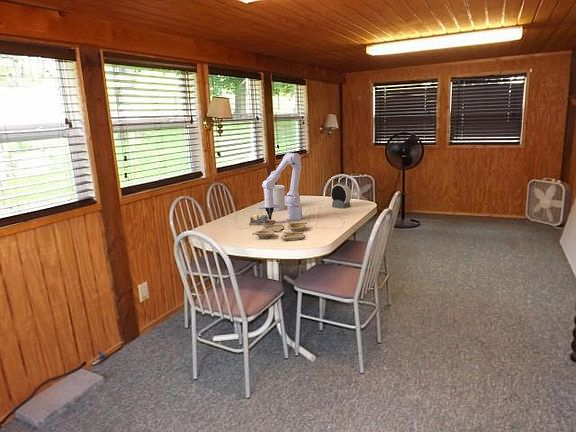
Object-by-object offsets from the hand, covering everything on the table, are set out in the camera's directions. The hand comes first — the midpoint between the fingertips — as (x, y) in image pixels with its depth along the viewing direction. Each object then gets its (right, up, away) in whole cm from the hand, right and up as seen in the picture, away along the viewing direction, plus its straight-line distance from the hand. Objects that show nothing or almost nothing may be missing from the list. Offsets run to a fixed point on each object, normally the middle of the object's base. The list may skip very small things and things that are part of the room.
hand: (270, 219), depth 273 cm
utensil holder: (+3, +7, +44) cm, 45 cm away
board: (-5, -3, +2) cm, 6 cm away
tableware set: (+8, -9, -24) cm, 27 cm away
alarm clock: (+52, +9, +43) cm, 68 cm away
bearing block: (-4, -3, +2) cm, 5 cm away
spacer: (-9, -2, +3) cm, 10 cm away
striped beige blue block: (-5, -2, +1) cm, 5 cm away
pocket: (-9, -3, +3) cm, 9 cm away
